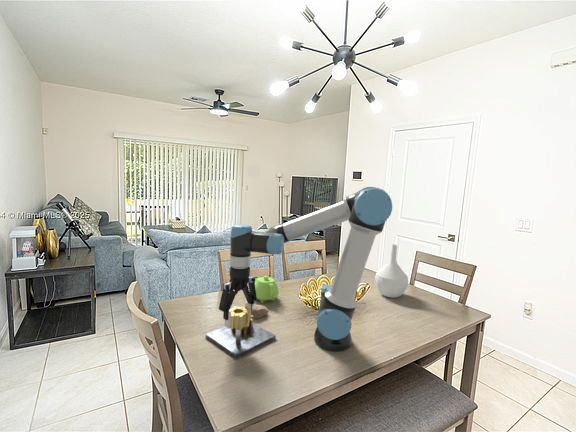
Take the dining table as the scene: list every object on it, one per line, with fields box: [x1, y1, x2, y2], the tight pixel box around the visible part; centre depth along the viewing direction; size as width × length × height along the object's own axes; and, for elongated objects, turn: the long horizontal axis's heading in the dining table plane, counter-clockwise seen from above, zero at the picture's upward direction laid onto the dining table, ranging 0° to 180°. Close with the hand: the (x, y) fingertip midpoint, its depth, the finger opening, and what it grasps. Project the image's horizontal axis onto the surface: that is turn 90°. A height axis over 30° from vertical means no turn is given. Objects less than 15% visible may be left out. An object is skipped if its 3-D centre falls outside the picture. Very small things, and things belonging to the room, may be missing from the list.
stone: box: [251, 303, 269, 319], centre depth 146 cm, size 9×12×5 cm
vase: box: [374, 244, 409, 299], centre depth 176 cm, size 18×18×30 cm
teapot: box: [255, 274, 279, 304], centre depth 163 cm, size 20×13×13 cm
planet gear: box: [230, 305, 250, 329], centre depth 116 cm, size 9×9×5 cm
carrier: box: [205, 315, 277, 360], centre depth 123 cm, size 20×20×8 cm
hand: (237, 322), depth 116 cm, fingers closed on planet gear, 9 cm apart
